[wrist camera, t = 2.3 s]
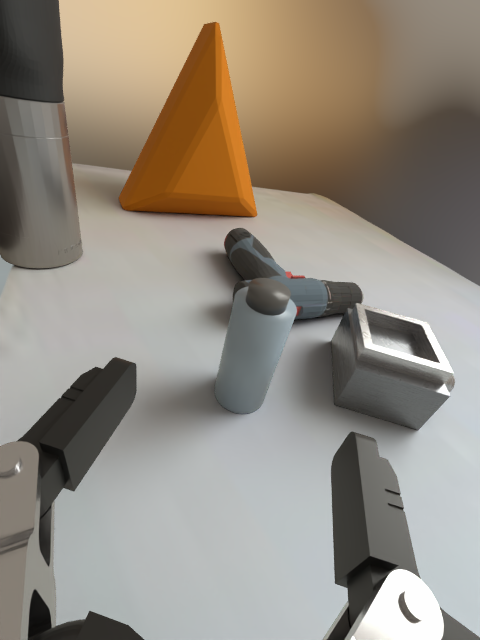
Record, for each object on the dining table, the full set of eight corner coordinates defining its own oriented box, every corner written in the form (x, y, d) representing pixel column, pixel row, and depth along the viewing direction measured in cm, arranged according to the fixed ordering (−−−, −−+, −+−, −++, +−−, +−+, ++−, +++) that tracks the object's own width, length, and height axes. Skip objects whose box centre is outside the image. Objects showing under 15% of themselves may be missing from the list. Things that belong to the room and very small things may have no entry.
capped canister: (207, 404, 26) (230, 295, 19) (221, 368, 30) (244, 266, 23) (259, 420, 26) (300, 315, 19) (267, 381, 29) (303, 283, 23)
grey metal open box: (334, 404, 29) (364, 355, 25) (331, 340, 37) (353, 296, 33) (450, 439, 28) (499, 395, 24) (420, 367, 36) (453, 325, 32)
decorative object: (126, 220, 54) (119, -20, 37) (115, 193, 65) (106, -4, 47) (266, 225, 67) (311, 49, 50) (238, 202, 78) (267, 50, 60)
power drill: (297, 257, 57) (365, 324, 42) (201, 255, 49) (243, 334, 35) (307, 230, 53) (383, 292, 39) (206, 223, 46) (253, 295, 32)
